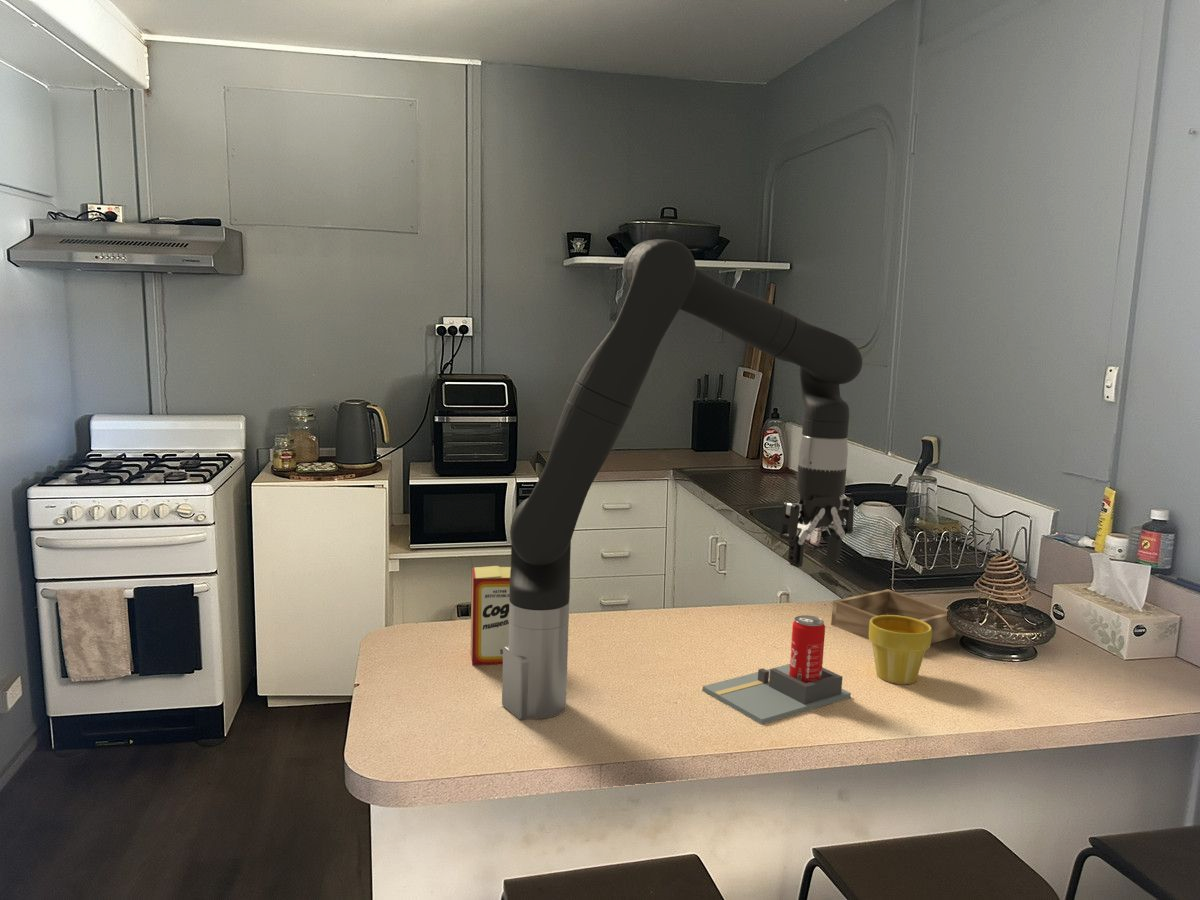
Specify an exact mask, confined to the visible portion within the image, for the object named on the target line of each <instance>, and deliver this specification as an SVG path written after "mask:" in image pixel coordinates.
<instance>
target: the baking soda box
mask: <svg viewBox="0 0 1200 900" xmlns="http://www.w3.org/2000/svg"><path fill="white" fill-rule="evenodd" d="M510 571H511V566H499V565H490V566H478V567H476V566H475V567H471V603H470V604H471V606H470V607H471V608H470V612H471V613H470V656H471V657H470V658H471V665H472V666H486V665H487V666H489V665H490V666H491V665H492V666H493V665H503V648H504V647H507V646H508V642H509V596H510Z"/></svg>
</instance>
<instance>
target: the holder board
mask: <svg viewBox="0 0 1200 900" xmlns="http://www.w3.org/2000/svg"><path fill="white" fill-rule="evenodd" d="M789 671H790V663H787V664H783V665H780V666H775V667H772V668H769V669H768V668H767V669H765V668H758V671H757V672H753V673H748V674H745V675H741V676H738V677H737V676H736V677H733V678H728V679H725V680H722V681H716V682H713V683H710V684H706V685H702V692H704V693H705V694H707V695H709V696H711V697H713V698H715V699H716V700H717V701H720V702H722V703H723V704H725V705H726V706H728V707H730V708H732V709H733V710H735V711H737V712H739V713H741V714H743V715H745V717H748V718H749V719H751V720H753V721H755V722H757V723H758V724H760V725H764V724H767V723H770V722H775V721H777V720H780V719H783V718H787V717H790V716H793V715H797V714H800V713H803V712H807V711H810V710H814V709H816V708H820V707H824V706H827V705H830V704H833V703H836V702H839V701H844V700H847V699H850V698H851V695H852V694H851V692H849V691H848V690H846V689H843V688H842V687H843V675H840V674H837V673H836V672H833V671H831V670H829V669H827V668H825V667H823V666H822V677H821V679H820V680H816V681H813V682H809V683H804V682H802V681H800V680H798V679H796V678H794V677H791V676H789Z"/></svg>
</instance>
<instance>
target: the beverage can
mask: <svg viewBox="0 0 1200 900" xmlns="http://www.w3.org/2000/svg"><path fill="white" fill-rule="evenodd" d="M825 635H826V625H825V620H823V619H822V618H820V617H818V616H814V615H807V614H806V615H805V614H804V615H797V616H796V617H794V621H793V622H792V631H791V646H790V659H789V664H790V671H789V676H791V677H794V678H796V679H798V680H800V681H802V682H804V683H809V682H813V681H816V680H820V679H821V677H822V667H823V661H824V649H825V648H824V647H825V638H826V636H825Z"/></svg>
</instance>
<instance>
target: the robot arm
mask: <svg viewBox="0 0 1200 900" xmlns="http://www.w3.org/2000/svg"><path fill="white" fill-rule="evenodd" d="M624 258H625V259H624V260H623V265H622V274H623V279H624V283H625V284H626V286H627V288H628V291H627V294H626V296H625V299H624V302H623V304H622V306H621V309H620V312H619V314H618V316H617V319H616V320H615V322H614V324H613V326H612V328H611V329H610V330H609V332H608V333H607V334H606V336H604V339H603V340H602V341H601V342H600V343H599V345H598V346H597V347H596V348H595V350H594V351H593V352H592V353H591V355H590V357H589V358H588V360H587V361H586V363H584V365H583V367H582V369H581V370H580V372H579V374H578V376H577V378H576V380H575V382H574V384H573V386H572V388H571V391H570V393H569V395H568V398H567V399H566V402H565V404H564V406H563V410H562V412H561V414H560V417H559V420H558V423H557V426H556V429H555V433H554V435H553V439H552V443H551V446H550V451H549V454H548V457H547V459H546V463H545V466H544V468H543V470H542V472H541V475H540V477H539V479H538V480H537V482H536V484H535V486H534V488H533V489H532V491H531V493H530V494H529V497H527V498H526V499H524V500H523V501H522V502H521V503H520V504H519V505H518V506H517V507H516V509H515V510H514V512H513V515H512V519H511V524H510V529H509V533H510V534H509V535H510V541H511V543H510V546H511V547H510V551H511V552H510V558H511V559H510V567H511V571H510V596H509V642H508V646H507V647H504V648H503V664H502V683H501V684H502V687H501V688H502V691H501V706H503V708H505V709H506V710H507V711H509V712H510V713H511V714H512V715H514V716H515V717H516V718H518V719H519V720H525V719H548V718H551V717H552V718H553V717H556V716H558V715H560V714H562V713H563V712H565V710H566V708H567V694H568V693H567V683H568V682H567V681H568V655H569V654H568V653H569V652H568V651H569V650H568V649H569V627H570V626H569V625H570V623H569V622H570V595H571V593H570V591H571V553H572V552H571V551H572V550H571V546H572V543H571V542H572V538H573V534H574V532H575V529H576V527H577V526H576V525H577V522H578V519H579V516H580V514H581V512H582V508H583V506H584V503H585V500H586V497H587V495H588V492H589V490H590V488H591V486H592V485H593V482H594V481H595V478H597V475H598V474H599V471H600V470H601V469H602V467H603V465H604V463H605V462H606V460H607V459H608V456H609V454H610V453H611V451H612V450H613V447H614V445H615V443H616V441H617V439H618V437H619V436H620V434H621V432H622V430H623V428H624V426H625V423H626V421H627V420H628V417H629V415H630V413H631V411H632V409H633V407H634V405H635V403H636V400H637V397H638V395H639V392H640V390H641V388H642V385H643V384H644V382H645V379H646V377H647V374H648V373H649V371H650V370H649V369H650V367H651V365H652V363H653V361H654V358H655V356H656V353H657V351H658V349H659V346H660V344H661V342H662V340H663V338H664V336H665V334H666V333H667V332H668V329H669V327H670V326H671V324H672V323H673V320H674V319H675V318H676V316H677V314H678V313H679V311H682V312H686V313H687V314H690V315H692V316H694V317H697V318H699V319H701V320H702V321H705V322H707V323H709V324H711V325H713V326H715V327H717V328H718V329H720V330H722V331H724V332H725V333H728V334H729V335H731V336H733V337H735V338H736V339H737V340H739V341H742V342H744V343H745V344H747V345H749V346H751V347H752V348H755V349H756V350H758V351H761V352H763V353H764V354H767V355H768V356H771V358H775V359H777V360H780V361H782V362H786V363H791V364H794V365H796V366H799V381H800V387H801V388H800V389H801V395H802V396H801V397H802V402H803V411H804V412H803V418H802V430H801V431H802V432H801V434H802V435H801V440H800V442H799V443H800V444H799V451H798V460H797V461H798V462H797V476H796V477H797V478H796V487H795V488H796V489H795V490H796V491H797V493H798V494H799V499H798V501H797V502H795V503H793V502H789V501H785V502H784V503H783V504H782V512H781V521H780V527H779V538H780V539H782V540H785V541H787V542H788V544H789V545H788V556H787V557H788V559H787V560H788V563H789V565H790V566H793V567H795V568H800V567H802V566H803V565H804V564H803V563H804V550H805V545H804V542H805V541H806V539H807V537H808V536H809V535H810V534H812V533H813V532H814V531H815V529H820V528H822V527H824V528H825V529H826V530H827V533H828V534H829V536H827V541H826V543H827V544H826V559H827V560H829V561H834V562H836V561H840V557H841V554H842V542H843V539H844V538H845V536H846V535H847V534H850V535H851V534H852V533H853V529H854V512H855V499H854V498H853V497H849V496H845V495H844V494H845V491H846V478H847V468H848V455H849V449H848V436H849V435H848V434H849V424H850V422H849V421H850V408H849V404H848V403H847V402H846V401H845V400H844V399H843V398H842V397H841V389H840V385H844V384H847V383H850V382H852V381H853V380H855V379H856V378H857V377H858V376H859V374H860V372H861V371H862V368H863V357H862V354H861V353H862V352H861V351H860V350H859V348H858V347H857V345H855V343H853V342H852V341H851V340H849V339H847V338H846V337H844V336H841V335H839V334H837V333H834V332H831V331H829V330H827V329H823V328H822V327H820V326H819V327H818V326H816V325H813V324H810V323H808V322H806V321H804V320H803V319H801V318H799V317H797V316H796V315H794V314H792V313H790V312H789V311H787V310H784V309H783V308H782V307H779V306H777V305H775V304H773V303H770V301H766V300H764V299H762V298H759V297H758V296H755V295H753V294H750V293H747V292H744V291H742V290H740V289H737V288H734V287H732V286H729V285H727V284H725V283H723V282H721V281H719V280H717V279H715V278H713V277H711V276H709V275H707V274H706V273H704V272H703V271H701V270H699V269H698V268H697V267H696V266H697V265H696V260H695V258H694V255H693V254H692V251H690V249H689V248H688V247H687V246H686V245H685V244H683V243H681V242H680V241H676V240H673V239H672V240H671V239H665V238H664V239H663V238H662V239H659V238H657V239H649V240H644V241H642V242H639V243H638V244H636V245H635V246H633V247H632V248H631V250H629V251H628V253H627V254H626V256H625V257H624ZM844 521H845V522H844ZM844 523H845V524H844ZM788 529H789V531H788ZM798 534H799V535H798Z"/></svg>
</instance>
